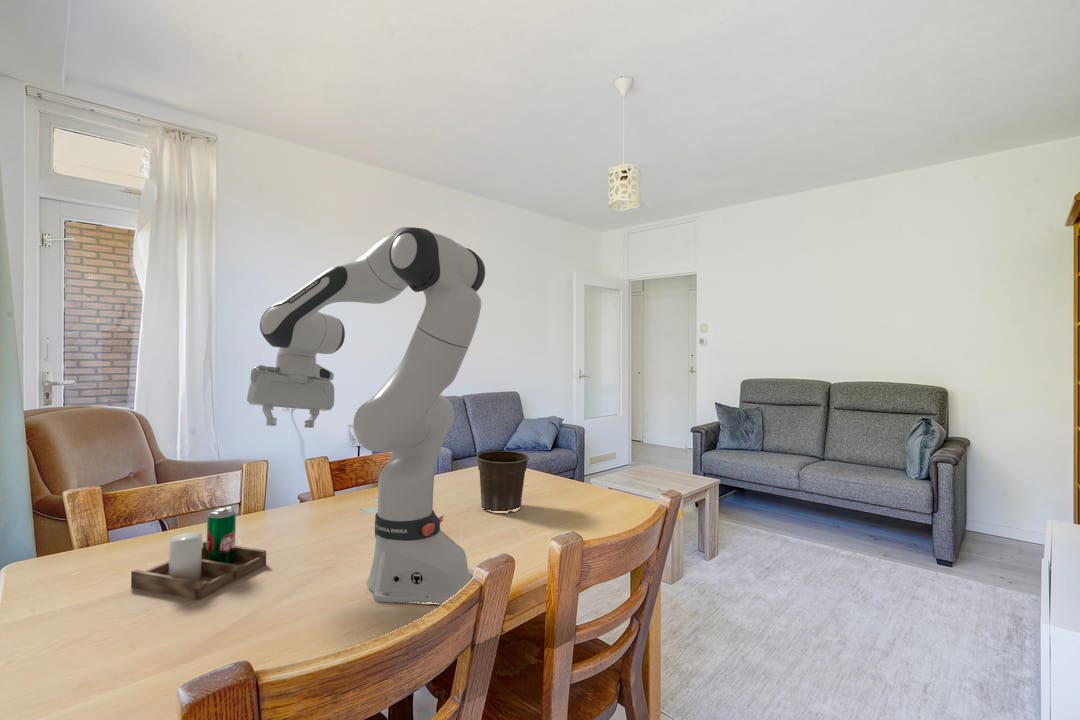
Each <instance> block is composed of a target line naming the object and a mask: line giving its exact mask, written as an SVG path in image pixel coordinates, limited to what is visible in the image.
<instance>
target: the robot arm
mask: <svg viewBox="0 0 1080 720" xmlns="http://www.w3.org/2000/svg"><path fill="white" fill-rule="evenodd" d="M485 277H486V267H485V263H484V262H483V259H482V258H481V256H479V255H478V254H477V253H476V252H475V251H474V250H472V249H470V248H468V247H465V246H463V245H461V244H460V243H457V242H456V241H454V240H453V239H452V238H449V237H447V236H445V235H443V234H439V233H437V232H436V233H435V232H432V231H430V230H428V229H427V228H423V227H421V228H420V227H414V226H413V227H411V226H402V227H398V228H396V229H394V230H393V231H392V232H390V233H388V234H387V235H386V236H384V237H383V238H381V239H380V240H379V241H378V242H377V243H375V244H374V245H373V246H372V247H370V249H369V250H368V251H366V252H365V253H364V254H362V255H361V256H360V257H357V258H356V259H354V260H352V261H350V262H347V263H344V264H341V265H338V266H334V267H331V268H329V269H327V270H325V271H324V272H322V273H321V274H319V275H317V276H316V277H315V278H314V279H312V280H311V281H309V282H307V283H306V284H305V285H304V286H303V287H301V288H300V289H299V290H297V291H296V292H294V293H293V294H292V295H290V296H288V297H287V298H285V299H284V300H281V301H278V302H276V303H273V304H272V305H271V306H270V307H268V308H266V310H265V311H264V313H262V316H261V319H260V322H259V329H260V332H261V334H262V336H263V338H264V339H265V341H266V342H267V343H268V345H270V346H271V347H272V348H273V347H274V348H279V349H278V352H277V354H276V360H275V361H276V362H275V366H266V365H263V364H261V365H258V366H255V367H253V368H252V369H251V372H250V383H249V387H248V392H247V397H246V401H247V402H248V404H249V405H252V406H262V412H263V413H262V414H264V416H265V418H266V421H265V422H266V426H268V427H275V426H277V421H278V418H277V417H274V415H273V412H272V411H273V410H274V407H276V408H287V409H298V410H309V415H310V416H309V417H308V419H307V420H304V428H305V429H307V428H308V429H313V428H315V421H316V419H317V418H318V417H319V415H320V411H323V412H324V411H331V410H332V409H333V407H334V405H335V386H334V384H333V382H332V381H333V380H334V379H335V378H334V377H335V375H334V372H333V371H331V370H328V369H327V368H326V367H323V366H321V365H320V364H318V363H317V354H320V355H328V354H329V355H331V354H334V353H336V352H337V351H339V349H341V348H342V346H343V345H344V343H345V339H346V338H345V337H346V332H345V331H346V330H345V326H344V323H343V322H342V321H341V320H340V318H338V317H335V316H333V315H330V314H326V313H323V312H320V310H322V309H323V308H325V307H326V306H328V305H331V304H335V303H346V302H347V303H348V302H349V303H350V302H351V303H362V304H371V305H373V304H374V305H375V304H383V303H386V302H388V301H391V300H392V299H395V298H396V297H398V296H399V295H400V294H402V292H403V291H405V289H406V288H408V287H409V288H410V289H411V290H412V291H413V292H415V293H419V292H423V294H424V296H425V304H424V305H425V306H424V309H423V312H422V313H421V316H420V318H419V320H418V323H417V324H416V327H415V330H414V332H413V334H412V337H411V339H410V341H409V343H408V346H407V348H406V351H405V353H404V354H403V357H402V359H401V361H400V362H399V364H398V366H397V367H396V369H394V371H393V373H392V374H391V375H390V377H389V378H388V379H387V381H386V382H385V383H384V384H383V385H382V387H381V388H380V389H379V390H378V391H377V392H376V394H374V395H373V396H372V397H371V398H370V399H369V400H367V401H366V402H365V403H363V404H362V405H360V407H358V409H357V411H356V412H355V415H354V417H353V427H352V428H353V433H354V436H355V439H356V440H357V442H358V443H359V445H360V446H361V447H362V448H364V449H366V450H367V451H370V452H381V453H383V452H385V453H386V452H387V453H388V452H389V453H391V452H392V453H391V455H390V458H389V460H388V461H387V463H386V465H385V466H384V467H383V469H382V470H381V472H380V474H379V476H378V477H379V478H378V480H377V482H378V486H377V489H378V490H377V512H376V514H375V517H374V518H375V519H374V536H375V537H374V538H375V546H374V553H373V559H372V565H371V569H370V573H369V576H368V579H367V581H366V584H367V585H366V586H367V588H368V589H369V590H370V592H372V593H373V598H374V601H376V602H379V603H382V602H383V603H395V602H397V603H396V604H399V603H400V602H401V603H400V604H412V603H413V602H414V603H415V602H416V603H417V602H419V603H423V602H424V603H427V602H432V603H435V602H436V603H439V604H438V605H437V606H442V605H441V604H442V603H443V602H445V601H446V600H448V599H449V598H450V597H452V596H453V595H455V594H456V593H457V592H458V591H459V590H460V589H462V588H463V587H464V586H465V585H466V584H467V583H468V582H469V581H470V580H471V579H472V577H473V573H474V571H475V569H470V568H469V566H468V559H467V554H466V551H465V550H464V549H463V548H462V547H461V546H460V545H459V544H458V543H456V542H455V541H454V540H453V539H452V538H451V537H449V536H448V535H447V534H446V533H445V532H443V530H442V529H441V523H442V522H443V521H444V520H445V519H444V516H445V515H443V514H442V515H440V517H438V516H437V514H436V512H435V511H434V509H433V507H434V506H433V504H434V503H433V502H434V486H435V485H434V482H435V473H436V468H437V463H438V461H439V456H440V452H441V449H442V446H443V443H444V440H445V438H446V435H447V434H448V432H449V431H450V429H451V428H452V427H453V425H454V421H455V410H454V407H453V404H452V402H451V401H450V400H449V399H448V397H446V396H445V395H443V394H442V393H443V392H444V391H445V390H446V389H447V388H448V387H450V385H451V384H453V382H454V381H455V379H456V377H457V375H458V373H459V370H460V368H461V366H462V363H463V361H464V359H465V357H466V354H467V352H468V350H469V347H470V345H471V343H472V340H473V338H474V335H475V333H476V329H477V325H478V323H479V318H480V315H481V310H482V309H481V308H482V300H481V297H480V295H479V293H478V291H479V289H480V288H481V287H482V285H483V284H484V282H485V281H484V280H485ZM398 602H399V603H398ZM402 602H404V603H402ZM405 602H406V603H405ZM407 602H408V603H407ZM409 602H410V603H409ZM411 602H412V603H411Z"/></svg>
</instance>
